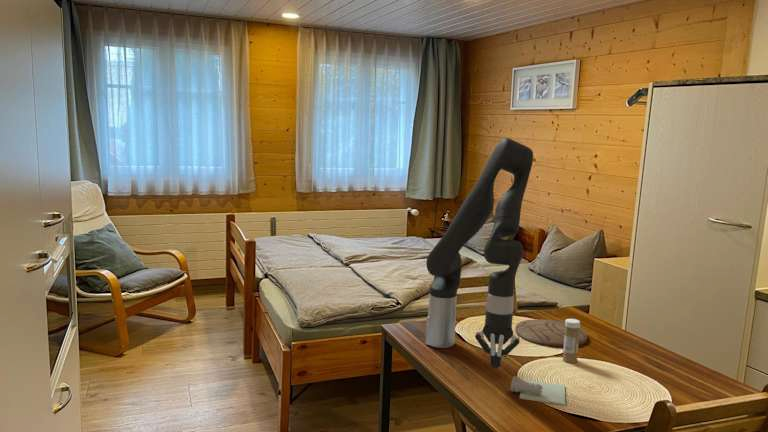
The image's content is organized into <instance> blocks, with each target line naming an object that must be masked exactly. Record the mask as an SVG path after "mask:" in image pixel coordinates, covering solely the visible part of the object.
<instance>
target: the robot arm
mask: <svg viewBox="0 0 768 432" xmlns="http://www.w3.org/2000/svg"><path fill="white" fill-rule="evenodd" d="M533 162H534V152H533V149H531V148H530V147H528V146H527V145H525V144H523V143H521V142H519V141H516V140H514V139H511V138H509V137H504V138H503V139H501V140H500V141H499V142H498V143H497V144H496V146H495V148H493V151H492V153H491V155H490V157H489V158H488V160H487V162H486V165H485V166H484V168H483V170H482V172H481V174H480V176H479V178H478V180H477V181H476V183H475V184H474V186H473V188H472V189H471V191H470V192H469V194H468V195H467V197H466V198H465V199H464V201H463V202H462V204H461V206H460V208H459V209H458V211H457V212H456V215H455V216H454V217H453V219H452V221H451V223H450V224H449V226H448V228H447V229H446V231H445V233H444V235H443V236H442V237H441V238H440V239H439V241H438V242H437V243H436V245H435V246H434V247H433V249H431V251H430V252H429V253H428V256H427V258H426V263H425V264H426V268H427V269H426V270H427V271H428V273H429V274H430V275H431V276H434V280H433V281H432V283H430V286H429V289H428V290H429V292H428V294H429V295H428V312H427V314H428V315H427V317H426V327H425V328H426V329H425V330H426V331H425V345H427V346H431V347H433V348H436V349H437V348H438V349H447V348H451V347H453V346H455V340H456V339H455V334H456V320H457V319H456V318H457V317H456V316H457V315H456V314H457V299H458V298H457V295H458V290H459V287H460V285H461V275H462V257H461V253H460V250H462V249H463V247H464V246H465V245H466V244H467V243H468V242H470V240H471V239H473V237H475V236H476V234H478V232H479V231H480V230H481V229H482V228H483V227H484V225H485V224H486V223H487V221H488V219H490V216H491V215H492V213H493V211H494V206H495V198H494V197H495V196H494V194H495V193H494V191H495V190H494V186H495V181H496V179H497V176H498V174H499V173H500V171H501V170H502V171H505V172H507V173H510V174H512V175H513V181H512V185H511V186H510V187H509V188H508V189H507V190H506V192H504V194H503V195H502V196H501V197H500V198H499V200H498V202H497V203H496V207H495V213H494V214H495V215H494V222H493V225H492V226H493V227H492V230H491V233H490V234H489V237H488V239H487V241H486V243H485V246H484V249H483V257H484V259H485V261H486V262H487V263H489V264H493V265H501V266H502V265H503V266H508V268H506V269H505V270H499V271H493V272H491V273H490V274H489V276H488V286H487V287H488V288H487V289H488V290H487V295H486V296H487V297H486V304H485V317H484V318H485V319H484V326H483V328H482V330H481V331H477V332H476V333H475V337H474V338H475V340H476V341H477V342H478V344H479V346H480V347H481V348H482V350H483V352H484V353H486V354H489V355H490V360H489V361H490V363H489V364H490V366H491V367H492V369H497V370H498V368H500V367H501V363H502V357H503V356H508V355H509V354H510V353H511V352H512V351H513V350H514V349H515V348H516V347H518V345H519V344H520V339H521V338H520V337H519V336H518V337H517V336H516V335H515V334H514V330H513V316H514V307H515V305H514V303H515V302H514V294H515V293H514V292H515V289H514V288H515V280H516V276H517V272H518V269H519V267H520V264H521V261H522V259H523V257H524V256H523V255H524V247H523V244H522V243H521V242H520V241H519V240H514V239H505V238H508V237H511V236H512V237H513V236H515V235H517V234H518V233H519V230H520V222H521V221H520V220H521V214H522V213H521V212H522V211H521V210H522V204H523V200H524V197H525V196H524V195H525V193H526V189H527V186H528V181H529V178H530V174H531V171H532V167H533ZM502 238H504V239H502ZM485 338H486V340H487V341H488V342H489V344H490V345H489V344H488V343H487V341H486V340H485ZM509 340H510V343H509V344H508V345H507V346H506V347H505V348H504V349H503V345H505V344H506V343H508V342H509ZM496 347H497V349H496ZM496 350H497V351H496Z"/></svg>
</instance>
